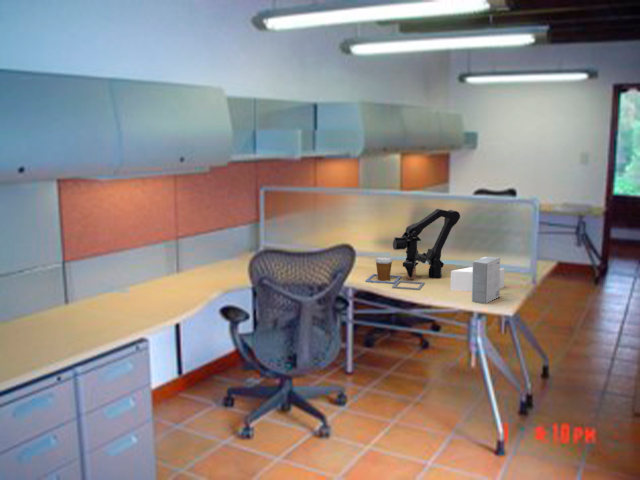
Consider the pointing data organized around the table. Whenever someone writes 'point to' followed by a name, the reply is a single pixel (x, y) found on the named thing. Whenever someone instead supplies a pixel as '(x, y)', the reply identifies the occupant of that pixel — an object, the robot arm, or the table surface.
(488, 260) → the hard drive box
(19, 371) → the table surface
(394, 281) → the frame cup
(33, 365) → the table surface
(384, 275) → the disposable coffee cup
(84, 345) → the table surface
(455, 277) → the white box
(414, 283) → the frame empty
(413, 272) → the block
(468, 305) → the table surface
